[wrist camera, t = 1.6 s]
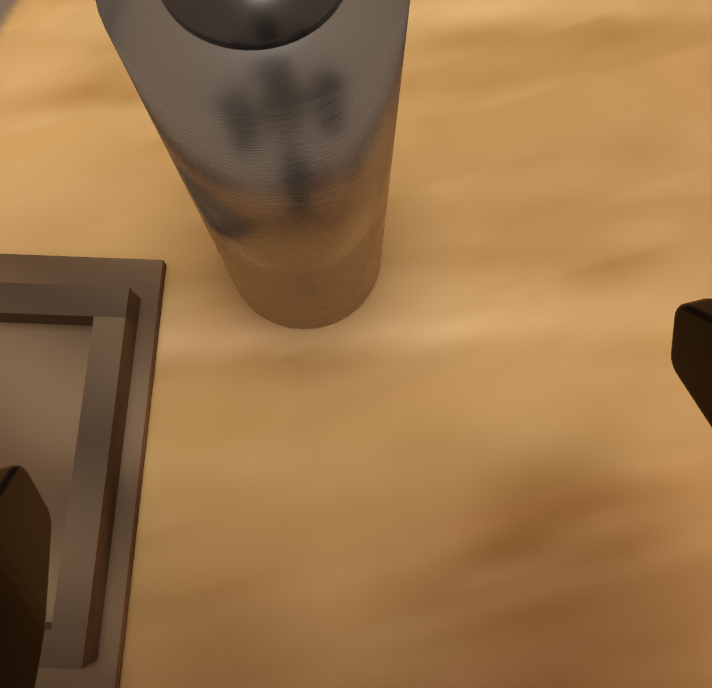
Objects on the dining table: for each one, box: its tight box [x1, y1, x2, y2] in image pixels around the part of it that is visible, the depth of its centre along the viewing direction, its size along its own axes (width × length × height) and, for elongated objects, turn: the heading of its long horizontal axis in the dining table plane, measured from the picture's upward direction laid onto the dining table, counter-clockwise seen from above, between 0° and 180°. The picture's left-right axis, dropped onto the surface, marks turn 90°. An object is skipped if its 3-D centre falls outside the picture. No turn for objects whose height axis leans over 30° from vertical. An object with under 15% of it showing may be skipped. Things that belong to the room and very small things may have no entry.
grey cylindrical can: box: [96, 0, 410, 329], centre depth 17 cm, size 5×5×13 cm
